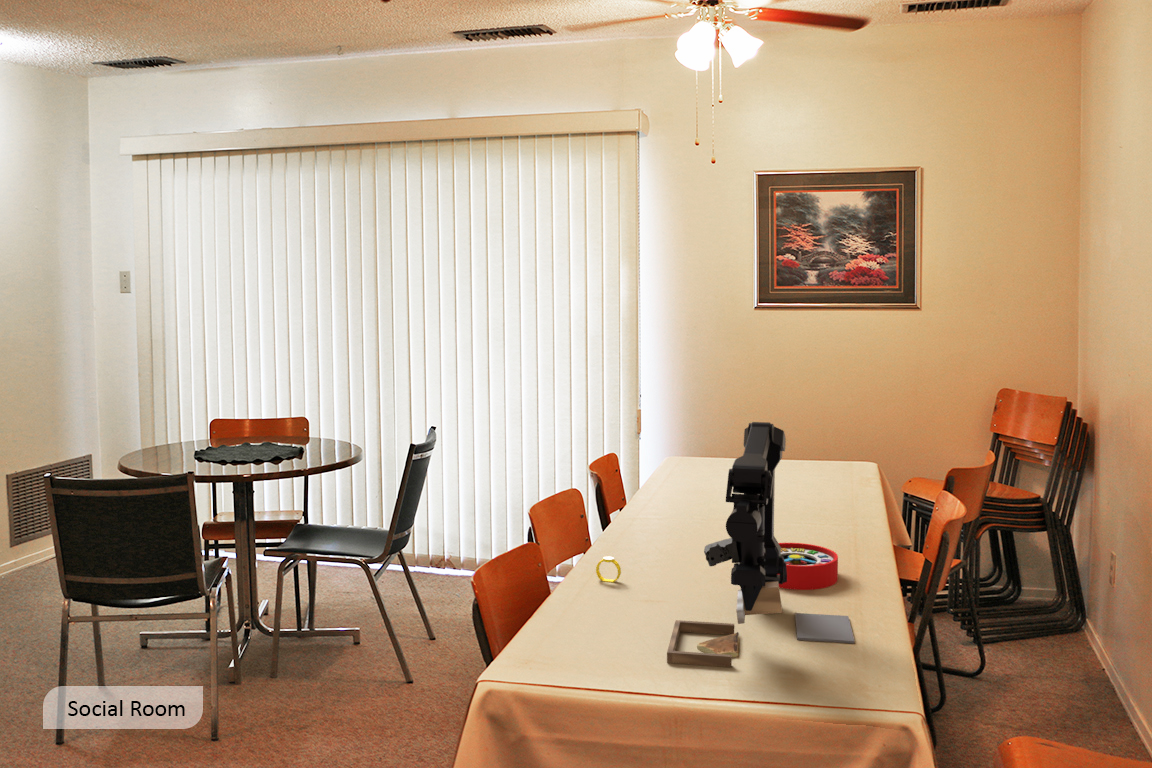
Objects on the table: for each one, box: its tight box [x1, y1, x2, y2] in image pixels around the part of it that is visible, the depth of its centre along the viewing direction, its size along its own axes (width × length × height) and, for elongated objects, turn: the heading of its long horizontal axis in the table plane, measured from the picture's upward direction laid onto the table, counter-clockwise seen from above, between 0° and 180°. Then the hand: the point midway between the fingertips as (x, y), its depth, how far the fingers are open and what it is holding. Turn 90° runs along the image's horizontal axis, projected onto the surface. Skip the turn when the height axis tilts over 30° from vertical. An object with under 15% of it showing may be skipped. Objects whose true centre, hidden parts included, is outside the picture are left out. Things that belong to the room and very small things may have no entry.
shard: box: [696, 631, 740, 658], centre depth 176 cm, size 11×8×2 cm
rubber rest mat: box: [794, 612, 856, 644], centre depth 186 cm, size 14×11×1 cm
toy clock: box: [778, 542, 839, 591], centre depth 220 cm, size 20×6×20 cm
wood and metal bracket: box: [735, 581, 783, 625], centre depth 174 cm, size 12×8×5 cm
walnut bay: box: [666, 619, 735, 668], centre depth 177 cm, size 17×12×2 cm
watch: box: [595, 555, 622, 583], centre depth 218 cm, size 6×3×6 cm, turn 69°
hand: (748, 607), depth 174 cm, fingers closed on wood and metal bracket, 3 cm apart
